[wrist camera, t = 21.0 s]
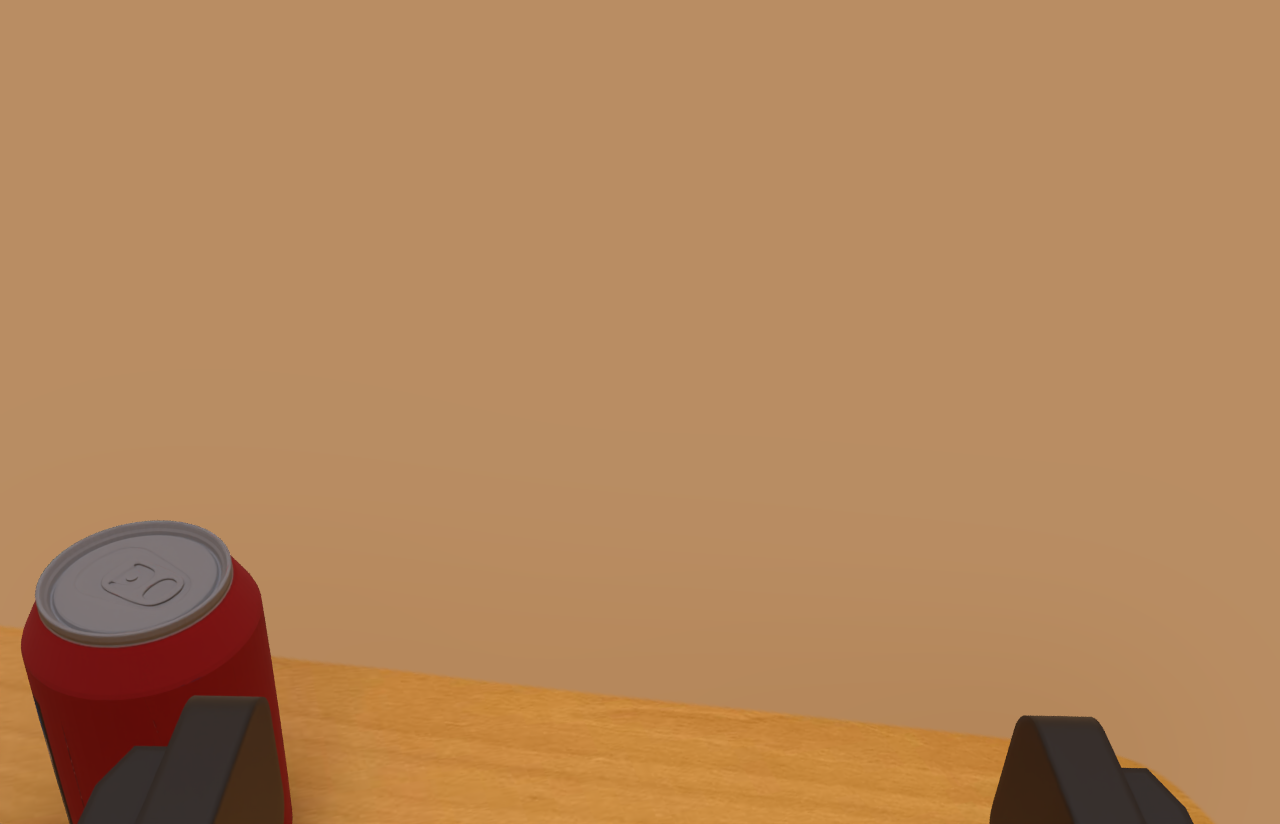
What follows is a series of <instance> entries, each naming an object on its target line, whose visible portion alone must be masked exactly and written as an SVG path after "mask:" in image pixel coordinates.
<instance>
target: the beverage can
mask: <svg viewBox="0 0 1280 824" xmlns="http://www.w3.org/2000/svg"><path fill="white" fill-rule="evenodd" d="M35 598H36V600H35V603H34V605H33V607H32V610H31V612H30V614H29V617H28V619H27V622H26V624H25V627H24V630H23V635H22V639H21V652H22V657H23V661H24V664H25V668H26V672H27V675H28V679H29V683H30V687H31V690H32V694H33V698H34V701H35V705H36V709H37V712H38V716H39V720H40V723H41V727H42V730H43V734H44V737H45V741H46V744H47V748H48V751H49V755H50V758H51V762H52V765H53V769H54V772H55V776H56V779H57V783H58V786H59V789H60V793H61V796H62V800H63V803H64V806H65V810H66V813H67V816H68V820H69V823H70V824H77V823H78V821H79V819H80V817H81V815H82V813H83V810H84V808H85V806H86V804H87V802H88V800H89V798H90V796H91V793H92V791H93V789H94V787H95V785H96V784H97V783H98V782H99V781H100V780H101V779H102V778H103V777H104V776H105V775H106V774H107V773H108V772H109V771H110V770H111V769H112V768H113V767H114V766H115V765H116V764H117V763H118V762H119V761H120V760H121V759H122V758H123V757H124V756H125V755H126V754H127V753H128V752H129V751H130V750H131V749H132V748H133V747H134V746H168V743H169V741H170V739H171V736H172V734H173V731H174V729H175V727H176V724H177V722H178V720H179V717H180V715H181V712H182V710H183V708H184V706H185V704H186V703H187V701H188V700H189V699H190V698H191V697H192V696H194V695H197V696H244V697H265V698H266V699H267V701H268V703H269V706H270V711H271V717H272V723H273V729H274V736H275V742H276V748H277V754H278V760H279V767H280V773H281V779H282V785H283V792H284V824H292V806H291V798H290V790H289V782H288V774H287V766H286V758H285V751H284V744H283V737H282V729H281V722H280V715H279V708H278V701H277V694H276V688H275V681H274V674H273V668H272V661H271V654H270V648H269V643H268V636H267V630H266V623H265V617H264V611H263V605H262V599H261V594H260V591H259V588H258V586H257V584H256V582H255V581H254V580H253V578H252V577H251V575H250V574H249V573H248V572H247V571H246V570H245V569H244V568H243V567H242V566H241V565H240V564H239V563H238V562H237V561H236V560H235V559H234V558H233V557H232V556H231V555H230V552H229V550H228V548H227V546H226V545H225V544H224V543H223V541H222V540H221V539H220V538H219V537H217V536H216V535H215V534H213V533H212V532H210V531H208V530H206V529H204V528H201V527H199V526H195V525H192V524H188V523H183V522H176V521H144V522H135V523H130V524H125V525H120V526H116V527H113V528H109V529H106V530H103V531H101V532H98V533H95V534H93V535H90V536H88V537H86V538H84V539H82V540H80V541H78V542H76V543H75V544H73V545H72V546H70V547H69V548H67V549H66V550H64V551H63V552H62V553H61V554H59V555H58V556H57V557H56V558H55V559H53V560H52V562H51V563H50V564H49V565H48V566H47V567H46V568H45V570H44V571H43V573H42V574H41V576H40V578H39V581H38V583H37V586H36V591H35Z"/></svg>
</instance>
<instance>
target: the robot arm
mask: <svg viewBox="0 0 1280 824" xmlns="http://www.w3.org/2000/svg"><path fill="white" fill-rule="evenodd" d="M77 824H284V792H283V785H282V779H281V773H280V767H279V760H278V754H277V748H276V742H275V736H274V729H273V723H272V717H271V711H270V706H269V703H268V701H267V699H266V698H265V697H244V696H197V695H194V696H192V697H191V698H190V699H189V700H188V701H187V703H186V704H185V706H184V708H183V710H182V712H181V715H180V717H179V720H178V722H177V724H176V727H175V729H174V731H173V734H172V736H171V739H170V741H169V743H168V746H134V747H133V748H132V749H131V750H130V751H129V752H128V753H127V754H126V755H125V756H124V757H123V758H122V759H121V760H120V761H119V762H118V763H117V764H116V765H115V766H114V767H113V768H112V769H111V770H110V771H109V772H108V773H107V774H106V775H105V776H104V777H103V778H102V779H101V780H100V781H99V782H98V783H97V784H96V785H95V787H94V789H93V791H92V793H91V796H90V798H89V800H88V802H87V804H86V806H85V808H84V810H83V813H82V815H81V817H80V819H79V821H78V823H77ZM990 824H1193V822H1192V820H1191V818H1190V816H1189V814H1188V812H1187V810H1186V808H1185V807H1184V806H1183V805H1182V804H1181V803H1180V802H1179V801H1178V800H1177V799H1176V798H1175V797H1174V796H1173V795H1172V794H1171V793H1170V791H1169V790H1168V789H1167V788H1166V787H1165V786H1164V785H1163V784H1162V783H1161V782H1160V781H1159V780H1158V779H1157V778H1156V777H1155V776H1154V775H1153V774H1152V773H1151V772H1150V771H1149V770H1148V769H1147V768H1121V766H1120V764H1119V762H1118V760H1117V757H1116V755H1115V753H1114V751H1113V749H1112V747H1111V744H1110V742H1109V740H1108V738H1107V736H1106V734H1105V731H1104V730H1103V728H1102V726H1101V725H1100V723H1099V722H1098V721H1097V720H1096V719H1095V718H1093V717H1068V716H1022V717H1020V719H1019V720H1018V721H1017V723H1016V726H1015V729H1014V732H1013V735H1012V739H1011V742H1010V746H1009V749H1008V753H1007V756H1006V760H1005V763H1004V767H1003V770H1002V774H1001V777H1000V780H999V784H998V787H997V791H996V794H995V798H994V801H993V805H992V809H991V814H990Z"/></svg>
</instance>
